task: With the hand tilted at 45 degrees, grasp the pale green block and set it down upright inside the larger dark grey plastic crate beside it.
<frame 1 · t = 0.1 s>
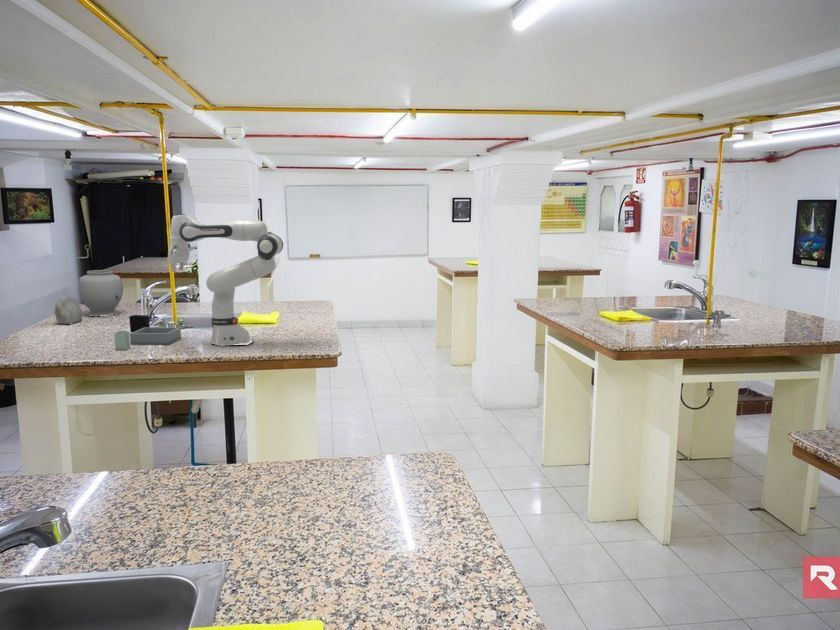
hand: (177, 271, 340), 39 cm above the worktop, tool pointing down, fingers open, 8 cm apart
decorative stone: (71, 323, 404), on the worktop
electronic device: (140, 332, 374), on the worktop
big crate: (156, 341, 349), on the worktop
grey ceramic vase: (102, 315, 434), on the worktop
pale green block: (122, 349, 329), on the worktop
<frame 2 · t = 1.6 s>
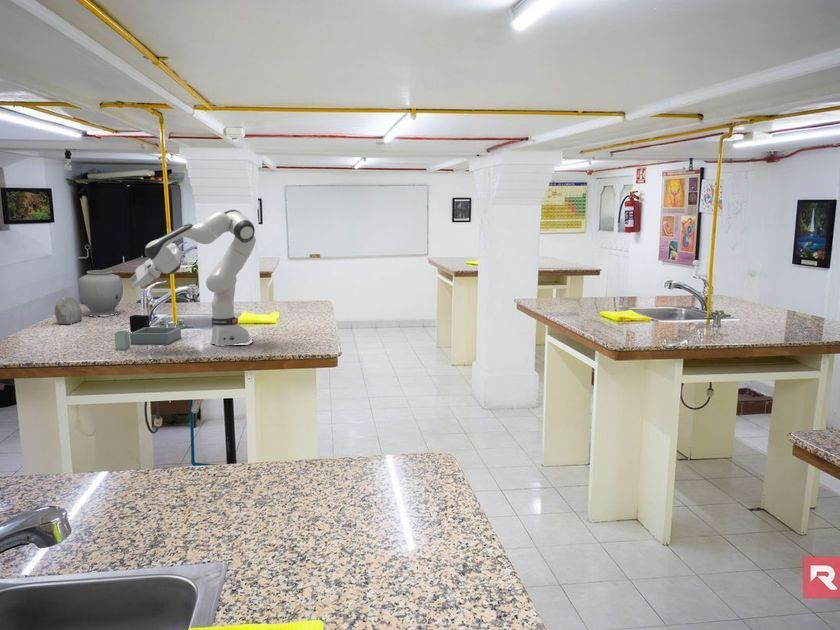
hand: (130, 284, 322), 34 cm above the worktop, tool tilted 55°, fingers open, 8 cm apart
nothing on the worktop moved.
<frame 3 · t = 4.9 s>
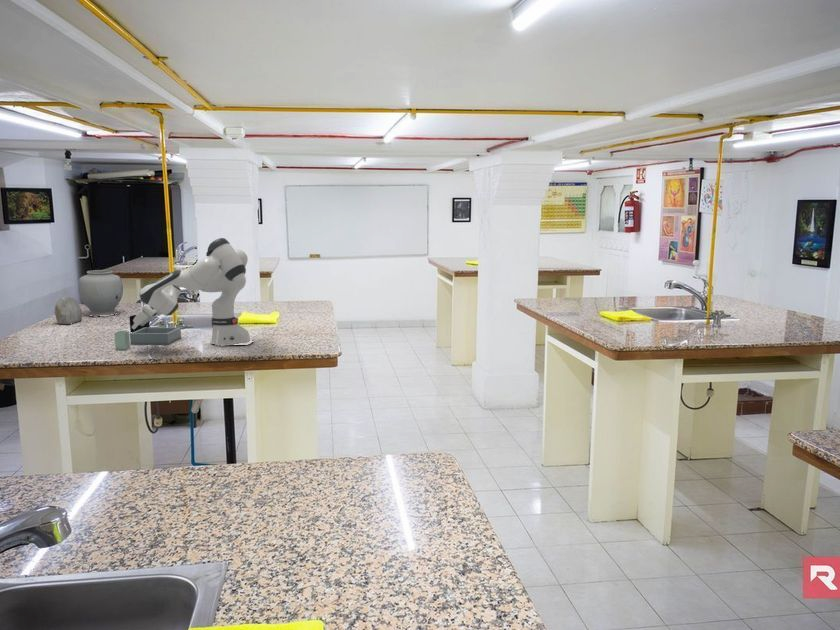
hand: (137, 326, 327), 12 cm above the worktop, tool tilted 45°, fingers open, 8 cm apart
nothing on the worktop moved.
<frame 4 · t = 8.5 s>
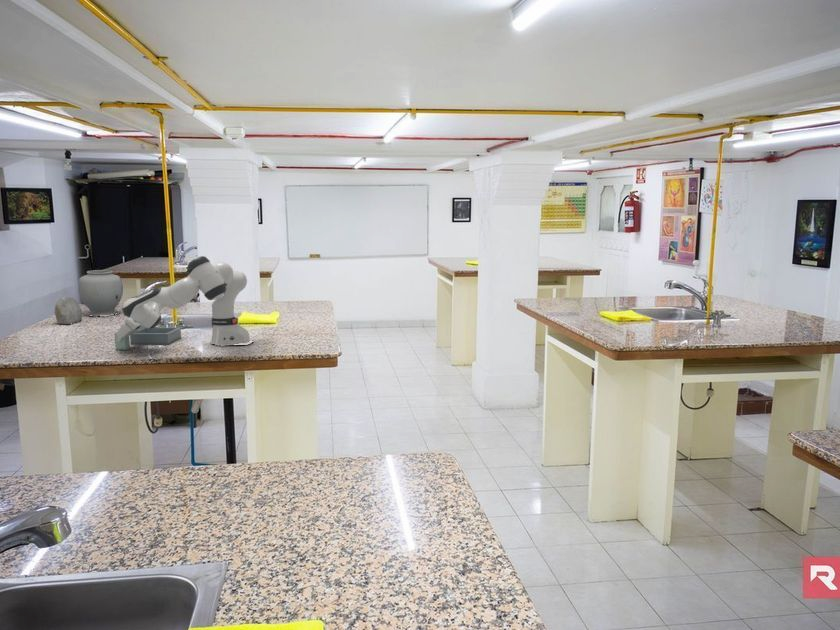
hand: (120, 339, 329), 5 cm above the worktop, tool tilted 45°, fingers closed on pale green block, 5 cm apart
pale green block: (122, 349, 329), on the worktop, touching gripper
everything else where it was.
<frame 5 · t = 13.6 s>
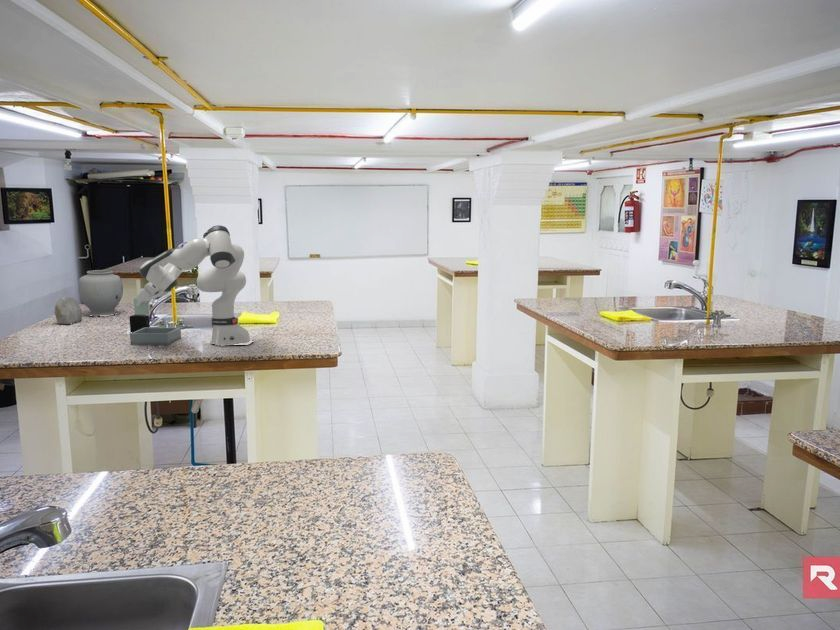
hand: (139, 304, 338), 21 cm above the worktop, tool tilted 45°, fingers closed on pale green block, 5 cm apart
pale green block: (141, 314, 339), point 16 cm above the worktop, touching gripper
everything else where it was.
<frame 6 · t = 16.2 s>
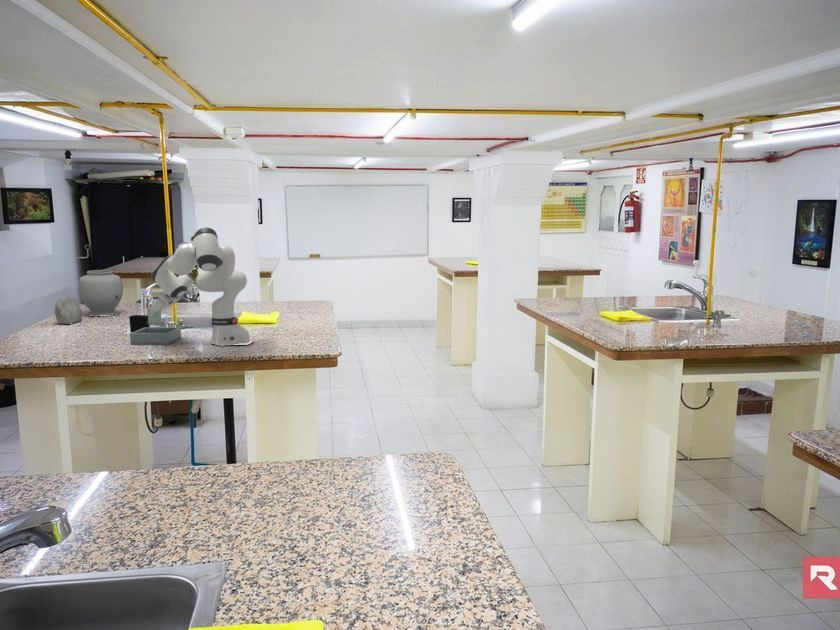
hand: (153, 314, 346), 15 cm above the worktop, tool tilted 45°, fingers closed on pale green block, 5 cm apart
pale green block: (155, 323, 347), point 10 cm above the worktop, touching gripper
everything else where it was.
when the fingers open (7 cm above the worktop, at t = 18.8 s): pale green block stays where it is, resting on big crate.
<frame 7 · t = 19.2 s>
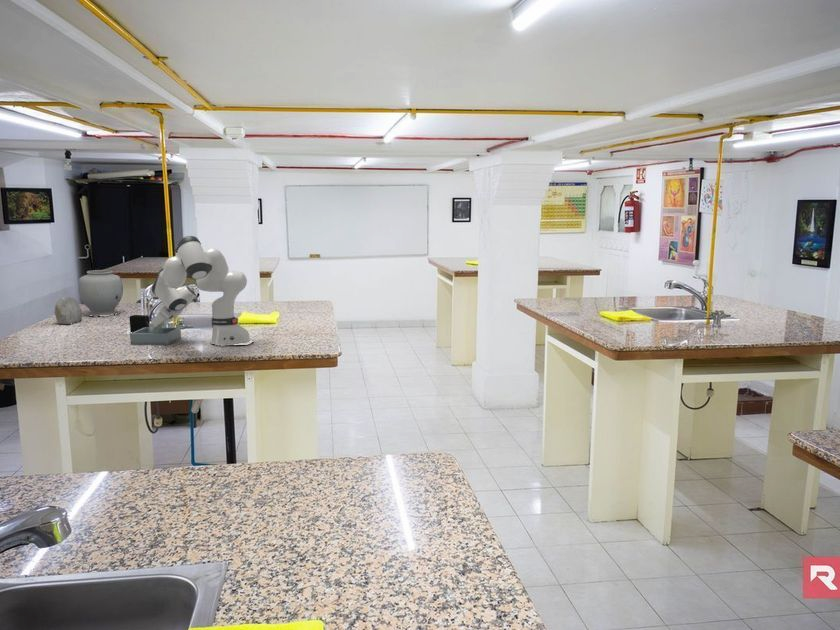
hand: (154, 328, 348), 7 cm above the worktop, tool tilted 45°, fingers open, 8 cm apart
pale green block: (156, 339, 349), point 1 cm above the worktop, touching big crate
everything else where it was.
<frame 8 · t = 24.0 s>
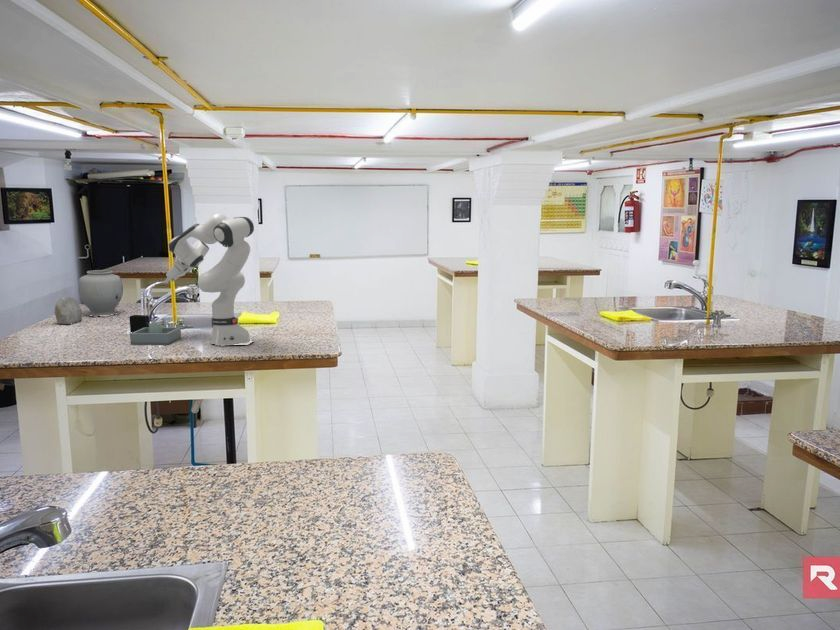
hand: (169, 281, 357), 31 cm above the worktop, tool tilted 45°, fingers open, 8 cm apart
nothing on the worktop moved.
at the end: pale green block inside the target area on the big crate (0.0 cm from its centre), point 1.2 cm above the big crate's base; pale green block tilted 0°; the gripper is holding nothing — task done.
